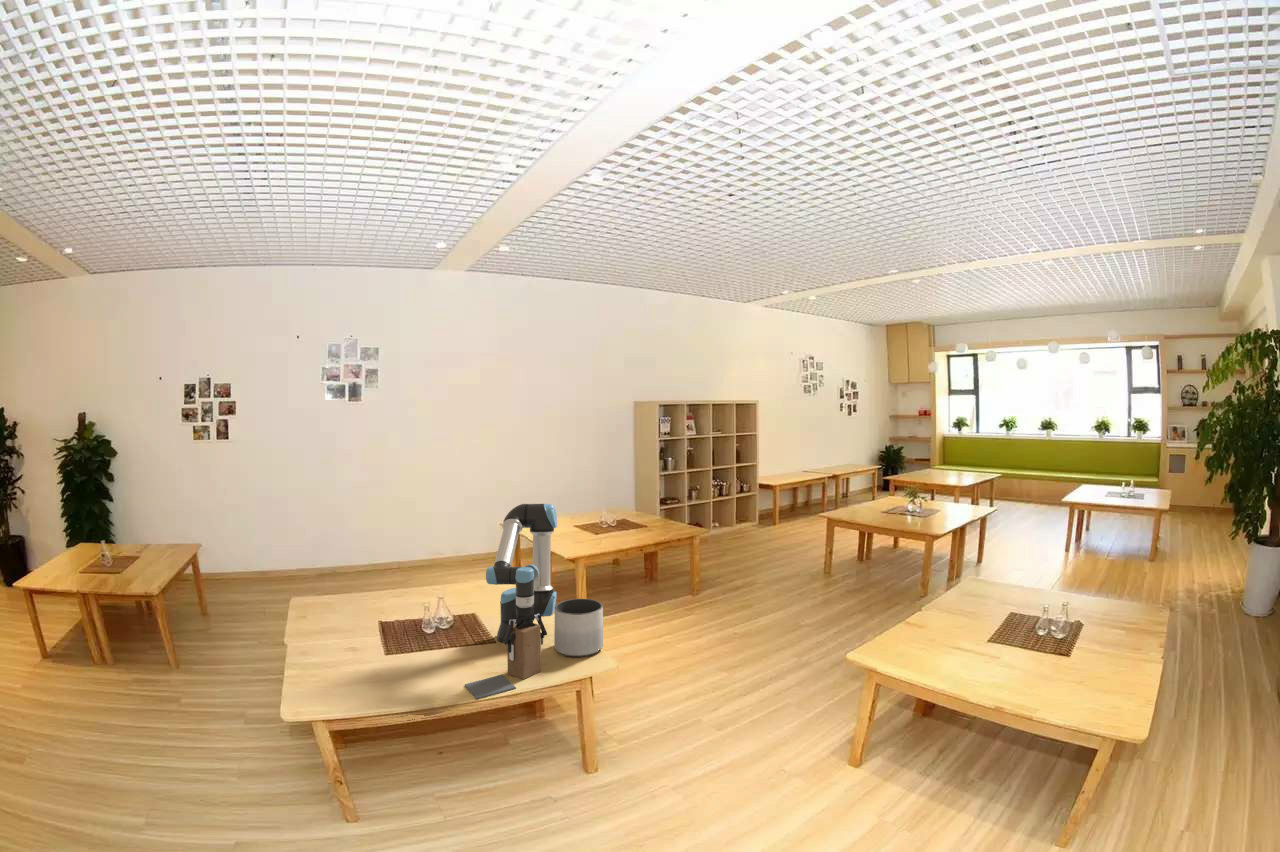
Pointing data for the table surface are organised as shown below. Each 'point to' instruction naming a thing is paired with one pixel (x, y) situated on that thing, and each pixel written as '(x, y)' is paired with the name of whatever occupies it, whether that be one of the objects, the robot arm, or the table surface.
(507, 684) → the mat
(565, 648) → the planter
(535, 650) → the wooden block
